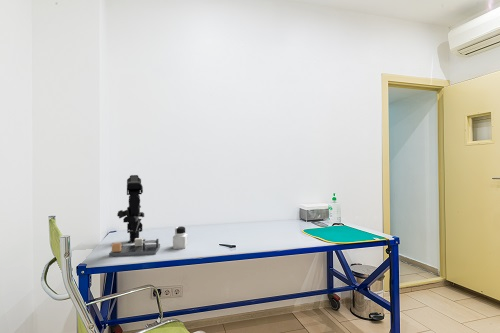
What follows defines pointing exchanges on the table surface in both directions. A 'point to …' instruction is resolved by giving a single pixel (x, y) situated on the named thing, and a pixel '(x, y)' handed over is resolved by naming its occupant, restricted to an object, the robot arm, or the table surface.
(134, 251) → the panel
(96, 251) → the table surface
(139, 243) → the block
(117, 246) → the slider orange
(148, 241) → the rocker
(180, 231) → the medicine bottle
